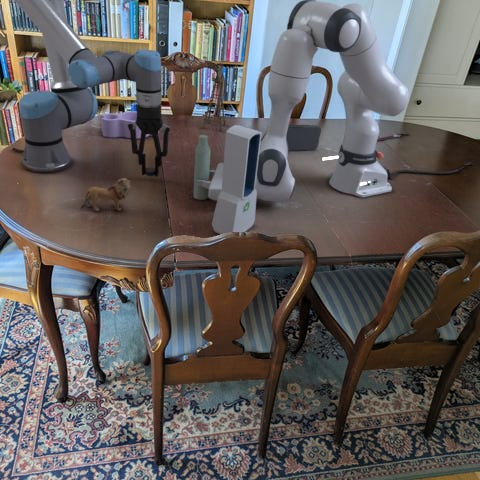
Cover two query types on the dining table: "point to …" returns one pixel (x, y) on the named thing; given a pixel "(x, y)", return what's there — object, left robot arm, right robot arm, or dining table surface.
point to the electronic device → (238, 181)
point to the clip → (119, 124)
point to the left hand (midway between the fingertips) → (150, 174)
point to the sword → (390, 137)
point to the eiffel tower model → (217, 80)
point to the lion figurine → (108, 193)
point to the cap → (150, 171)
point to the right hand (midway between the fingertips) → (198, 177)
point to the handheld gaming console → (303, 137)
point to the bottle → (201, 167)
